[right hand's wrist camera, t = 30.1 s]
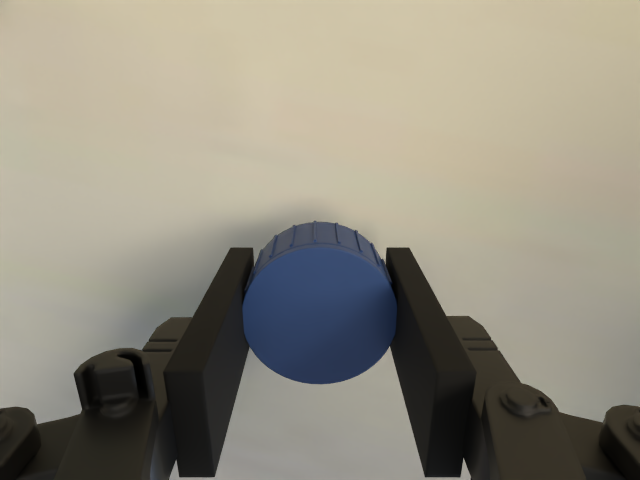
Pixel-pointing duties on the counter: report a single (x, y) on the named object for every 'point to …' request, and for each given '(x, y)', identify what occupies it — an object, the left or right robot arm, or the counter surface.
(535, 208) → the counter surface
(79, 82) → the counter surface
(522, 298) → the counter surface
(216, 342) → the right robot arm
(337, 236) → the cap
